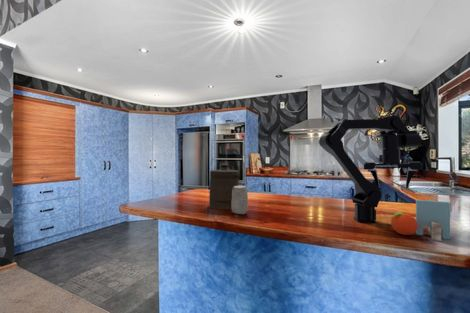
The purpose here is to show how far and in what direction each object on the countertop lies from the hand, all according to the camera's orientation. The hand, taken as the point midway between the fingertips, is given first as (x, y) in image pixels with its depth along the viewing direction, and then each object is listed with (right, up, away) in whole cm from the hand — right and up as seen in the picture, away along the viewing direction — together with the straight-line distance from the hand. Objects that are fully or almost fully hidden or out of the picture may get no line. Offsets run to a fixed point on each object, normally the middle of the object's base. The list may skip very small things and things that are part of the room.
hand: (392, 187), depth 90 cm
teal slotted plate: (+1, -13, -17) cm, 22 cm away
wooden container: (-68, -13, +25) cm, 73 cm away
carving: (-60, -13, +10) cm, 62 cm away
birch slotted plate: (+1, -13, -18) cm, 22 cm away
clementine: (-8, -13, -16) cm, 22 cm away
